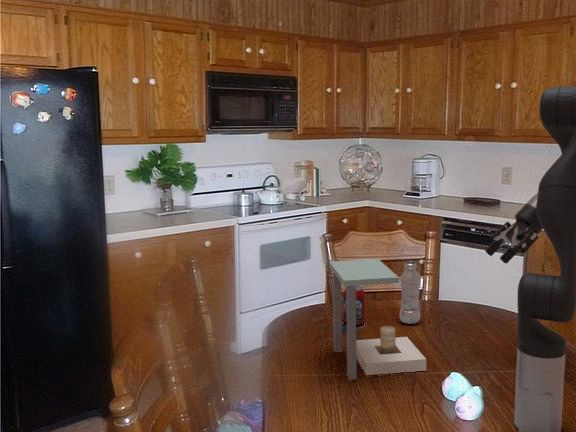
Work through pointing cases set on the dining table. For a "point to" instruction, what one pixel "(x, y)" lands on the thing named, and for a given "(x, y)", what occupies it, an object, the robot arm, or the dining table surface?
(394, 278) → the two-legged shelf table
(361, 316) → the beverage can
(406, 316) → the plastic bottle
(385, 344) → the peg
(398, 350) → the socket
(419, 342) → the dining table surface
